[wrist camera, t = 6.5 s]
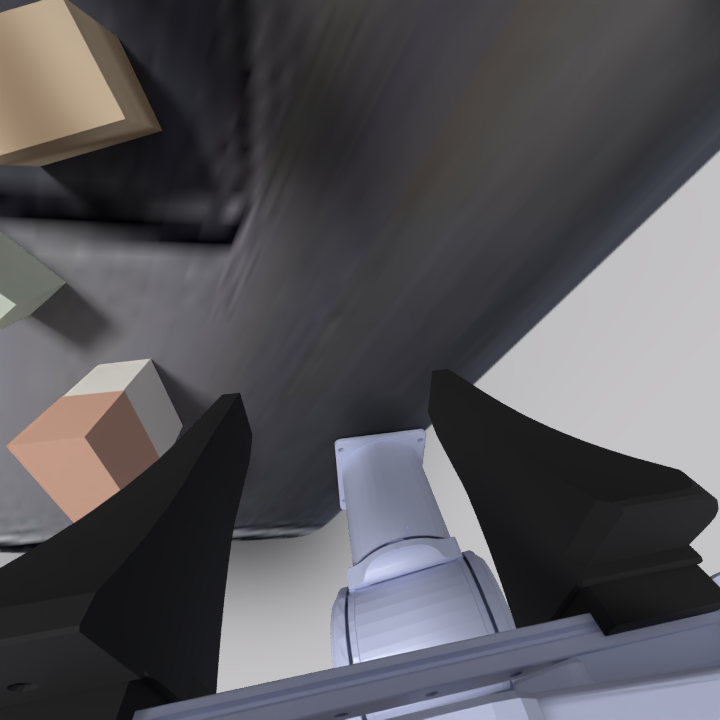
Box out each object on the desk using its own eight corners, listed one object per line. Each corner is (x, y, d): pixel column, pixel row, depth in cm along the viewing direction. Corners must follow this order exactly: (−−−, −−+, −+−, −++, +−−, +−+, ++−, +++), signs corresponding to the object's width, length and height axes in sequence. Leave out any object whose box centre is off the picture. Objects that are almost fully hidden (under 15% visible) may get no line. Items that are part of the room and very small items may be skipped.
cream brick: (183, 425, 23) (164, 463, 20) (138, 431, 23) (112, 470, 20) (151, 358, 20) (123, 390, 17) (98, 364, 20) (60, 398, 17)
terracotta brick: (162, 463, 20) (137, 514, 17) (110, 469, 20) (74, 523, 17) (124, 390, 17) (84, 437, 14) (61, 396, 17) (5, 446, 14)
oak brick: (119, 38, 13) (60, -5, 10) (163, 131, 14) (125, 118, 11) (-18, 78, 13) (-120, 47, 10) (42, 166, 14) (-29, 163, 11)
